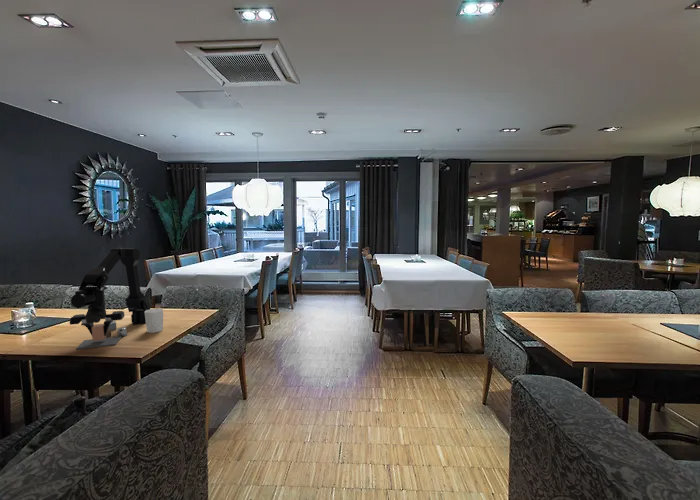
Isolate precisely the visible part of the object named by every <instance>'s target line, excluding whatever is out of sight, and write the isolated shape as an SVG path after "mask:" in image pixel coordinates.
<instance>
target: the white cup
mask: <svg viewBox="0 0 700 500" xmlns="http://www.w3.org/2000/svg"><path fill="white" fill-rule="evenodd" d="M145 321H146V323H145V326H146V332H147V333H149V334H151V333H152V334H155V333H161V332H162V331H163V330H164V309H163V308H150V309H149V310H146V311H145Z"/></svg>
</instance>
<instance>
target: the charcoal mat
mask: <svg viewBox="0 0 700 500" xmlns="http://www.w3.org/2000/svg"><path fill="white" fill-rule="evenodd" d="M121 339H122V337H121V336H118V335H117V336H111V337H109V338H105V339H104V340H97V341H93V338H92V339H85V340H82V342H81V343H80V344H79V345H78V346H77V347H76V350H77V351H78V350H84V349H86V350H87V349H94V348H102V347H110V346H116V345H117V344H118V343H119V341H120V340H121Z"/></svg>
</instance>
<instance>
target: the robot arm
mask: <svg viewBox="0 0 700 500" xmlns="http://www.w3.org/2000/svg"><path fill="white" fill-rule="evenodd" d="M140 259H141V258H140V250H139V249H137V248H136V247H131V248H130V247H123V248H122V247H113V248H111V249H110V250H109V253H108V254H107V255H106V257H104V259H103V260H102V261H101V263H99V265H98V266H96V267H95V268H93V269H90V270H89V271H88V272H87V273H86V274H85V275H84V277H83V279H82V281H81V284H80V286H79V288H78V290H76V291H74V294H73V295H72V297H71V299H70V303H71V305H72V306H73V307H74V308H76V309H80V308H83V307H87V312H86V313H85V314H84V313H81V314H74V315H72V317H70V318H69V325H79V324H80V323H81V324H80V326H83V327H86V329H87V330H88V332H89V333H90V335H91V336H92V327H93V326H94V325H95V324H96V323H97V324H99V323H100V322H101V320H104V322H103V324H104V336H106V334H107V331H108V328H109V325H110V323H111V322H113V321H122V320H123V319H124V318H125V312H124V311H123V310H115V311H113V312H112V313H108V314H107V309H106V298H105V290H107V289H108V287H107V286H106V284H107V281H108V279H109V273H110V272H111V271H112V270H113V268H114V267H115V266H116V264H118V262H119V261H120V262H121V263H122V265H123V266H124V268H125V273H126V279H127V285H128V286H127V287H128V292H129V294H128V295H127V297H126V298H125V302H126V303H125V304H126V305H125V306H126V308H127V310H128V312H129V313H132V314H131V315H130V316H131V317H130V318H131V324H132V325H142V324H146V321H145V311H146V310H149V309H152V308H151V307H152V306H151V305H150V304H149V302H148V301H147V299H146V296H145V294H143V292H142V291H141V284H140V278H139V270H138V269H139V268H138V263H139V262H140Z"/></svg>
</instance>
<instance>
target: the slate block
mask: <svg viewBox="0 0 700 500" xmlns="http://www.w3.org/2000/svg"><path fill="white" fill-rule="evenodd" d="M108 329H111V331H115V330H116V329H118V328H117V320H115V321H113V322H111V323H110V325H109V328H108ZM116 331H117V330H116Z"/></svg>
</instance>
